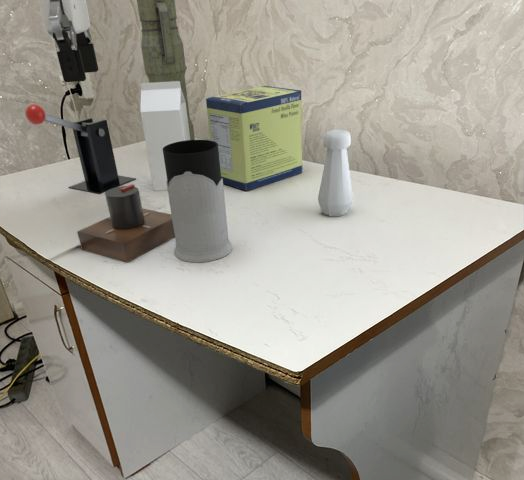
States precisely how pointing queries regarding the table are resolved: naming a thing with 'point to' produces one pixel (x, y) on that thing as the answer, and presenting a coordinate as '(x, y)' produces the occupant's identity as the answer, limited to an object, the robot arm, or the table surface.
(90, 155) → the lever bracket
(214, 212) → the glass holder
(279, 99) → the protein box
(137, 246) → the dial panel
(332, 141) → the salt shaker
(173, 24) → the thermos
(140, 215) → the dial
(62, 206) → the table surface
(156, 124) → the milk carton
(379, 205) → the table surface
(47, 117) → the lever
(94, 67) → the robot arm
